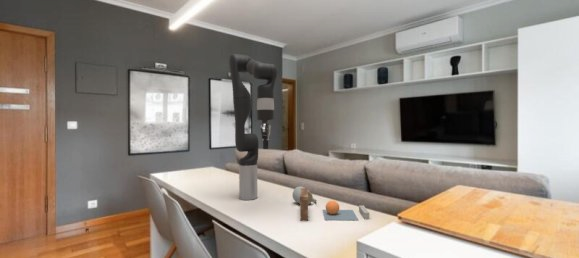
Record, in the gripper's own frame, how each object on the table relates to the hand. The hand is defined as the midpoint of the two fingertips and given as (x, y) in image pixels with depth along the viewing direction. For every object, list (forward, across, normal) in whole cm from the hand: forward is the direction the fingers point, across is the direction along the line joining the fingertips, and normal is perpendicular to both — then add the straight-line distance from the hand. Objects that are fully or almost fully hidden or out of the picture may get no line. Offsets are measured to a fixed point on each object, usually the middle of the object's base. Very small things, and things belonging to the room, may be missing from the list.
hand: (265, 148), depth 121 cm
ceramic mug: (+27, +11, -17) cm, 34 cm away
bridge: (+27, -6, -16) cm, 32 cm away
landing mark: (+27, -6, -31) cm, 41 cm away
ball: (+24, -5, -28) cm, 37 cm away
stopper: (+27, -6, -41) cm, 49 cm away
